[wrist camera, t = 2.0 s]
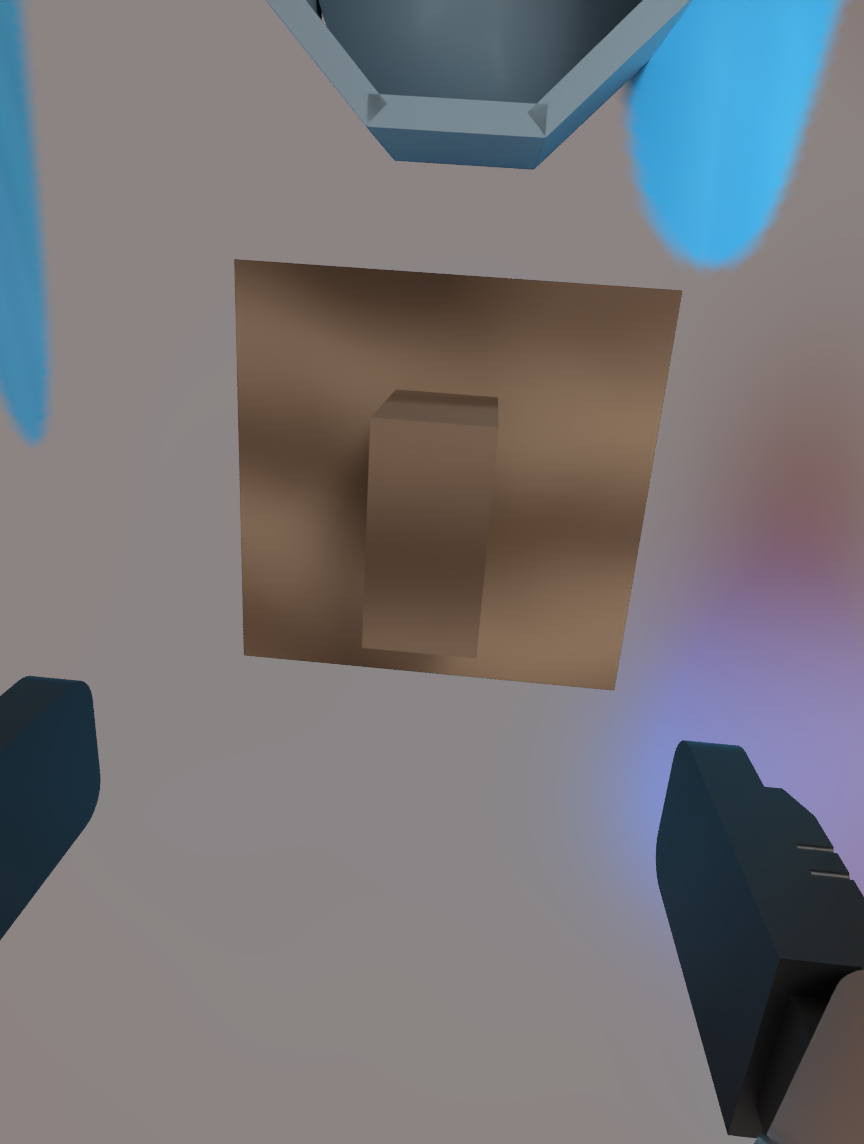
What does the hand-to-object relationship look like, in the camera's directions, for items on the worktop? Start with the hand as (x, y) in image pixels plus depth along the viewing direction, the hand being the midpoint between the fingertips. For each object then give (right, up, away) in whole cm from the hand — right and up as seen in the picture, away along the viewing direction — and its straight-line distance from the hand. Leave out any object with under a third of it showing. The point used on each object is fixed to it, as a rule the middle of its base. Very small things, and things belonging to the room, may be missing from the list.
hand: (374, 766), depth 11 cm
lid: (+1, +5, +14) cm, 15 cm away
